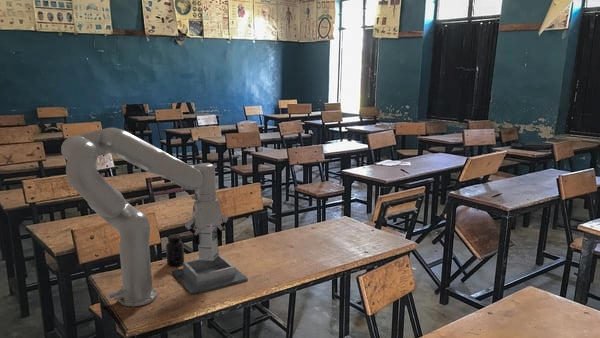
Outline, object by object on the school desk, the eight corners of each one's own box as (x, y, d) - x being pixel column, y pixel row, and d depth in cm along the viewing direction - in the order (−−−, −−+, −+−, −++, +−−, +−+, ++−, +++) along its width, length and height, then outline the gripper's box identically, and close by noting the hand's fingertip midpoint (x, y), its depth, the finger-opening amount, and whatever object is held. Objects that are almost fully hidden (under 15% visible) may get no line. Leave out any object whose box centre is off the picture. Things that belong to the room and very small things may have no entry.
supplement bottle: (166, 262, 186) (164, 234, 184) (182, 259, 189) (181, 232, 187) (168, 268, 180) (166, 240, 178) (185, 265, 183) (184, 237, 180)
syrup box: (213, 261, 168) (211, 224, 165) (198, 259, 169) (196, 223, 166) (218, 255, 173) (217, 219, 170) (204, 254, 174) (202, 218, 172)
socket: (191, 295, 158) (190, 282, 157) (172, 273, 176) (171, 261, 175) (247, 280, 169) (247, 268, 168) (224, 261, 187) (223, 249, 186)
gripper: (186, 202, 159) (189, 249, 162) (231, 195, 168) (233, 240, 171) (179, 198, 165) (182, 243, 168) (223, 191, 174) (225, 234, 178)
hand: (208, 241), depth 170 cm, fingers closed on syrup box, 8 cm apart
